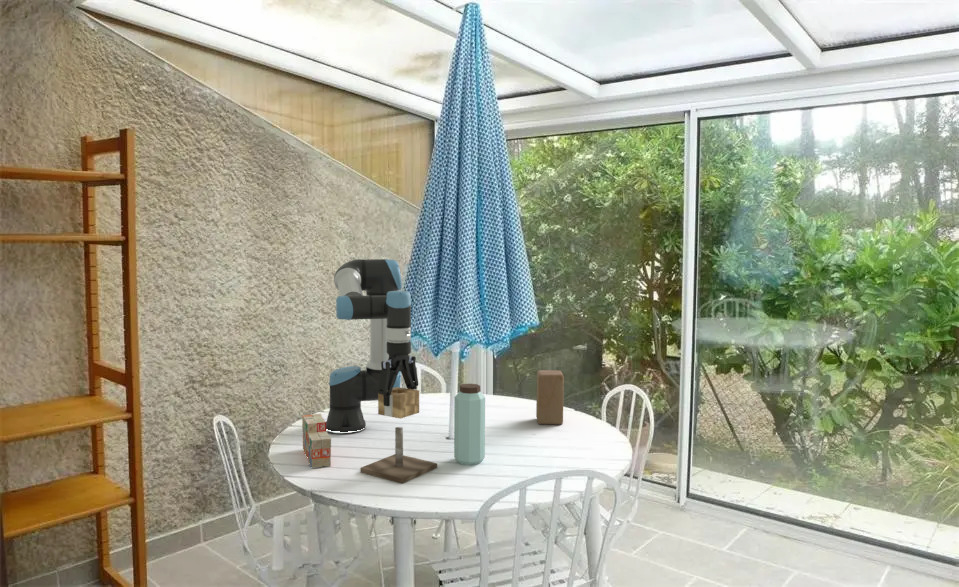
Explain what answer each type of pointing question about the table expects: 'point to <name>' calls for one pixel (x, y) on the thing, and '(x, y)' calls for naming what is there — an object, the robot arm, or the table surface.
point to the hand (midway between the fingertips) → (399, 412)
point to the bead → (401, 402)
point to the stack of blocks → (316, 440)
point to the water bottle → (469, 425)
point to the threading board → (398, 472)
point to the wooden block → (550, 397)
